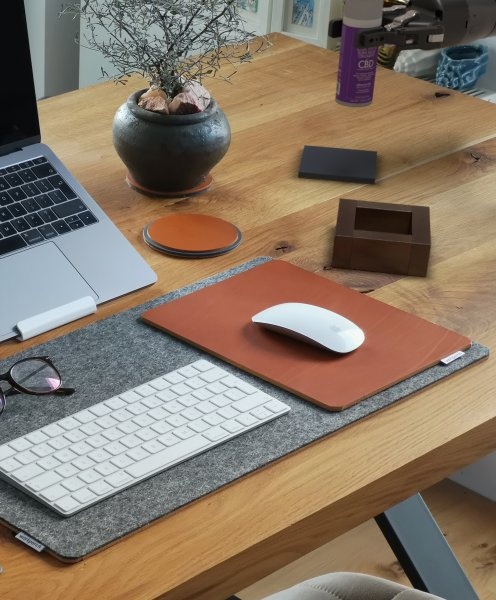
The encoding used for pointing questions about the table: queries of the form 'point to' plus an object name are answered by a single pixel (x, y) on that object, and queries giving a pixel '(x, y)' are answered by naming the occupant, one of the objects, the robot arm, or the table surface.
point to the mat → (338, 164)
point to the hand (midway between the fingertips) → (343, 34)
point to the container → (357, 54)
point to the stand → (382, 237)
